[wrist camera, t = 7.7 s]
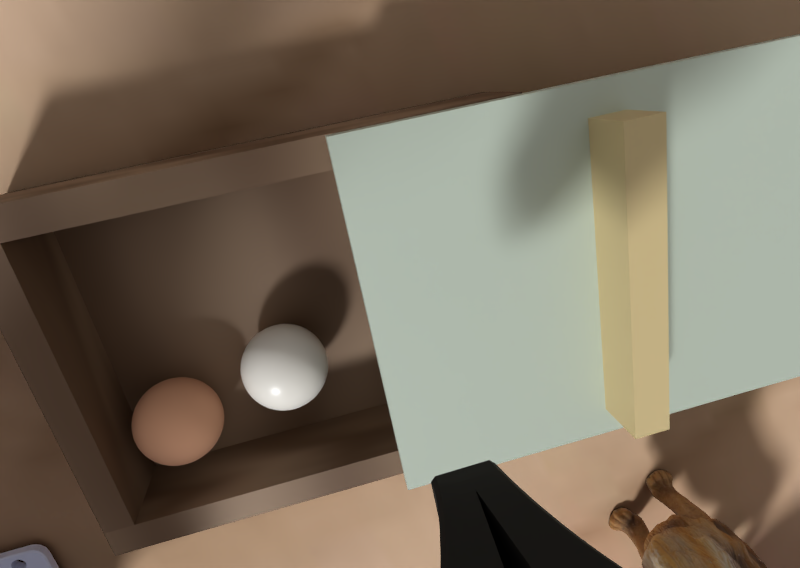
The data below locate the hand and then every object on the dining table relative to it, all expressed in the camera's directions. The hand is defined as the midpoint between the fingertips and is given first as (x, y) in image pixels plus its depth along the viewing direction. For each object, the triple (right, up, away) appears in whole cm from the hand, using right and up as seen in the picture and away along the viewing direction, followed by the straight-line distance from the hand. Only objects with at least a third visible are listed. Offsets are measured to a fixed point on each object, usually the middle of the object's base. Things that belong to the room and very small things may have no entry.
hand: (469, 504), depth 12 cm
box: (-5, +4, +9) cm, 11 cm away
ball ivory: (-5, +2, +7) cm, 9 cm away
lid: (+5, +5, +6) cm, 10 cm away
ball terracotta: (-9, 0, +7) cm, 12 cm away
